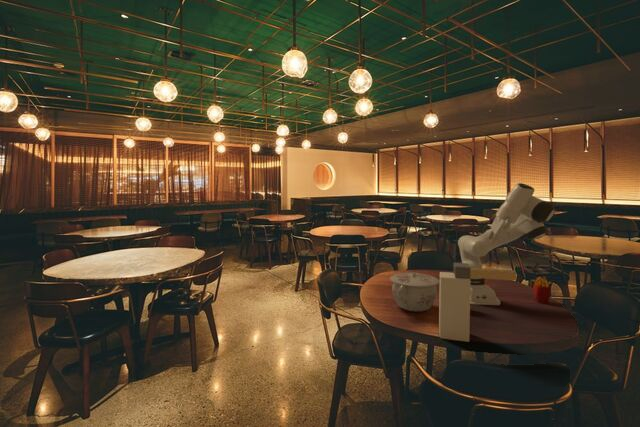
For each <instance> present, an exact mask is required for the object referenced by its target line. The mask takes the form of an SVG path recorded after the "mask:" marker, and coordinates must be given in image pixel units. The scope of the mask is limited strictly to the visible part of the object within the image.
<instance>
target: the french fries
mask: <svg viewBox="0 0 640 427" xmlns="http://www.w3.org/2000/svg"><path fill="white" fill-rule="evenodd" d="M531 282H534V283H533V292H534V301H535V302H537V303H538V304H549V300H550V296H551V295H550V294H551V289H552V287H551V286H550V285H551V284H552V281H549V282H548V281H547V278H546V277H545V276H543V277H541V276H540V277H537V278H535V279H531Z"/></svg>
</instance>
